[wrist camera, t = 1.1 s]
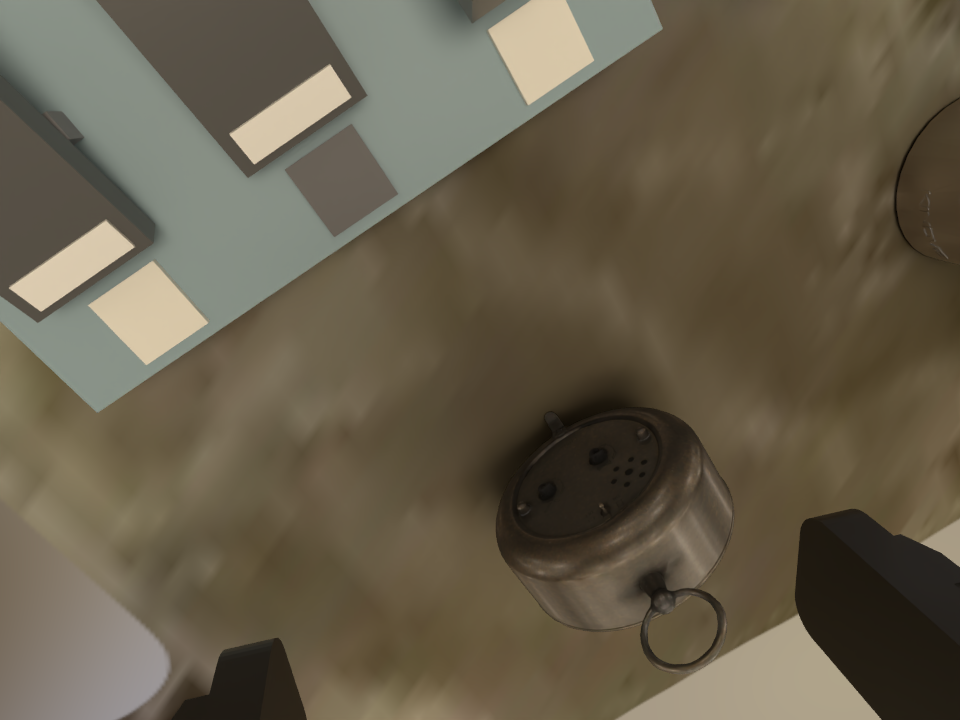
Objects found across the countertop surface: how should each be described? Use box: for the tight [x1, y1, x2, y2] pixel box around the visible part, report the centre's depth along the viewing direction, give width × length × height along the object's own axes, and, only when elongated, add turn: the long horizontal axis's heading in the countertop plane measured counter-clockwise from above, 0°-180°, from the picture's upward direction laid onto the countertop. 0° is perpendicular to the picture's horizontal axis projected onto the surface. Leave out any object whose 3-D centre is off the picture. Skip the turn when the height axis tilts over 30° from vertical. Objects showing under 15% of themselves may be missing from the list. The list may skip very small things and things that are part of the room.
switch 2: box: [96, 0, 368, 178], centre depth 19 cm, size 5×9×2 cm, turn 32°
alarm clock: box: [496, 407, 734, 674], centre depth 30 cm, size 11×5×16 cm, turn 122°
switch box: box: [0, 0, 663, 413], centre depth 24 cm, size 27×14×7 cm, turn 122°
